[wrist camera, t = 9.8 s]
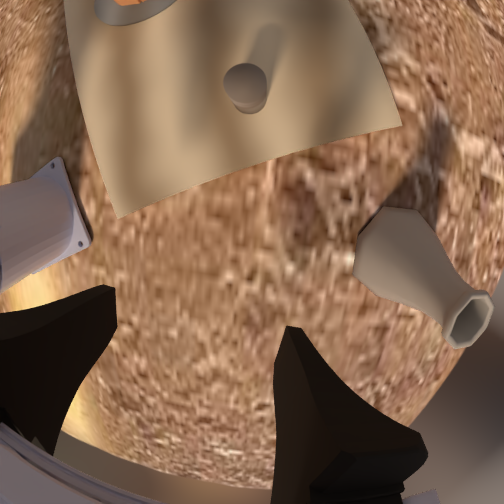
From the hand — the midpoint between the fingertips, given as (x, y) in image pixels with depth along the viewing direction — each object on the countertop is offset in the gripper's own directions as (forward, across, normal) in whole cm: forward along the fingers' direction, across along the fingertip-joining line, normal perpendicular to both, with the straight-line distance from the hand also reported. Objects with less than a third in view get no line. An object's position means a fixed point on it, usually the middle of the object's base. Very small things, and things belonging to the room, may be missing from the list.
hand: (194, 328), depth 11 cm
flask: (+10, -12, -2) cm, 16 cm away
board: (+9, +4, -16) cm, 19 cm away
